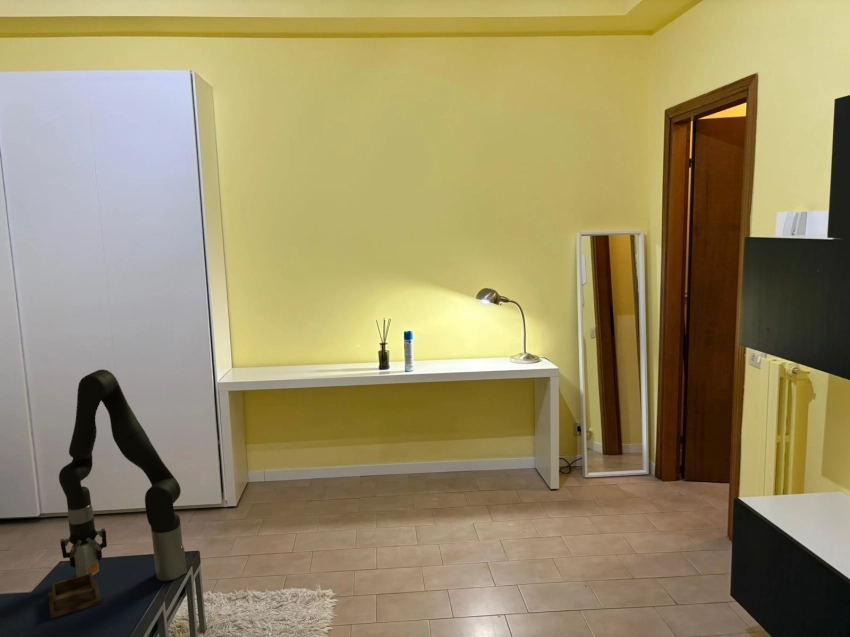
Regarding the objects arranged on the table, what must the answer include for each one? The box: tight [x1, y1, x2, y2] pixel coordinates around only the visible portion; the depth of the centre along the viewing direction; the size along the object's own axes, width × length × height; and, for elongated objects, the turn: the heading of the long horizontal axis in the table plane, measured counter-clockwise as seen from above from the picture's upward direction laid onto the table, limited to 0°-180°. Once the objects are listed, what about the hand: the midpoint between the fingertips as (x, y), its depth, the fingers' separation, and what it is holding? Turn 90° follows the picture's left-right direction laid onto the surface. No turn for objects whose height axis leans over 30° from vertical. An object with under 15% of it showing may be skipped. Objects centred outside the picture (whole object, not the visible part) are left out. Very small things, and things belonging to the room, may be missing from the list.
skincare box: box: [73, 538, 100, 577], centre depth 220 cm, size 6×4×12 cm
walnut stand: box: [48, 573, 102, 619], centre depth 206 cm, size 14×14×5 cm
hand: (86, 563), depth 220 cm, fingers closed on skincare box, 7 cm apart
